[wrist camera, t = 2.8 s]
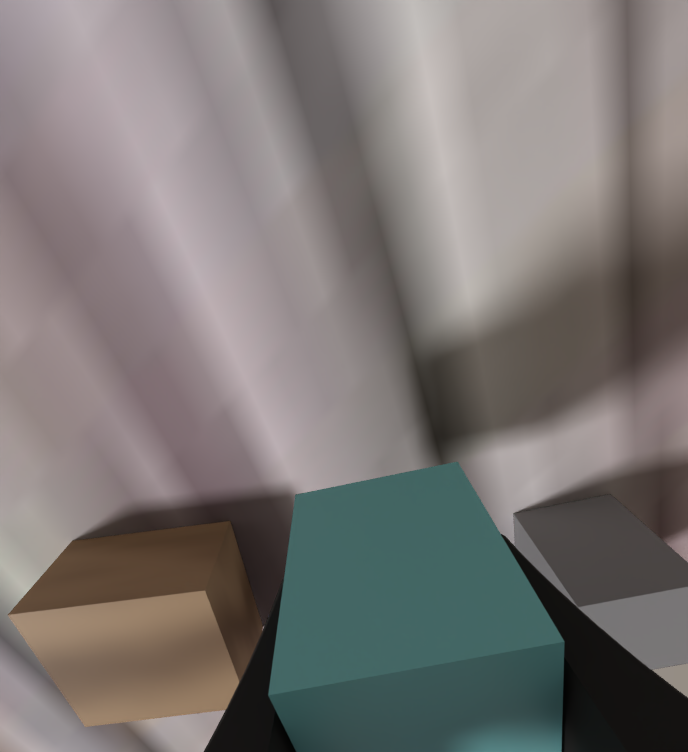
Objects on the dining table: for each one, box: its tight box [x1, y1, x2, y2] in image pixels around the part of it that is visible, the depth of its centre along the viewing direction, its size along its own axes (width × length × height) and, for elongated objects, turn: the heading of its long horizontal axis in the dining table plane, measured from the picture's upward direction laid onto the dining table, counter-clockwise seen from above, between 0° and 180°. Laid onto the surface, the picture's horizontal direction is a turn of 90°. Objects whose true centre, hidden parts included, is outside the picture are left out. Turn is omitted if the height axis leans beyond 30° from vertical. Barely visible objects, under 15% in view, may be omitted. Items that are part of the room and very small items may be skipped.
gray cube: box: [513, 494, 688, 670], centre depth 16 cm, size 5×5×5 cm
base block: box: [8, 521, 263, 727], centre depth 17 cm, size 8×8×4 cm
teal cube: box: [268, 462, 564, 752], centre depth 9 cm, size 5×5×5 cm
